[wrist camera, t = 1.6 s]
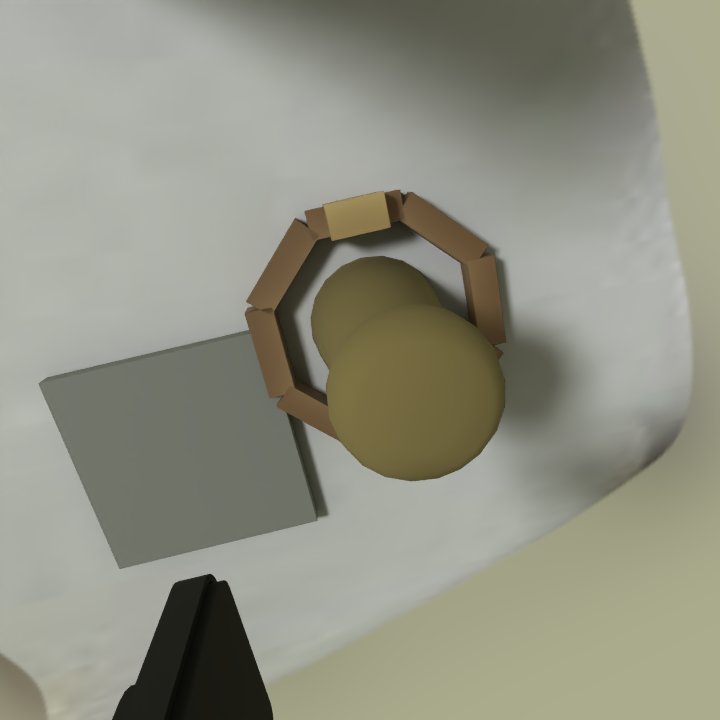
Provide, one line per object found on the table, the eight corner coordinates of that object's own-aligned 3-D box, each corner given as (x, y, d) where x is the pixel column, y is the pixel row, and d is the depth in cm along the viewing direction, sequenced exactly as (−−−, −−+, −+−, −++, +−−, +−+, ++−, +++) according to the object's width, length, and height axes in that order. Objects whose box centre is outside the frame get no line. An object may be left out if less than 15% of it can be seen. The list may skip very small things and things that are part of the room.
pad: (47, 377, 24) (38, 383, 23) (264, 326, 24) (263, 330, 23) (125, 558, 27) (119, 568, 26) (317, 511, 27) (317, 520, 26)
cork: (340, 234, 23) (366, 264, 12) (462, 285, 24) (579, 352, 14) (291, 358, 24) (278, 477, 14) (408, 400, 26) (477, 540, 15)
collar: (224, 227, 22) (215, 230, 20) (473, 169, 23) (490, 166, 21) (290, 455, 26) (288, 478, 24) (506, 403, 26) (523, 421, 24)
